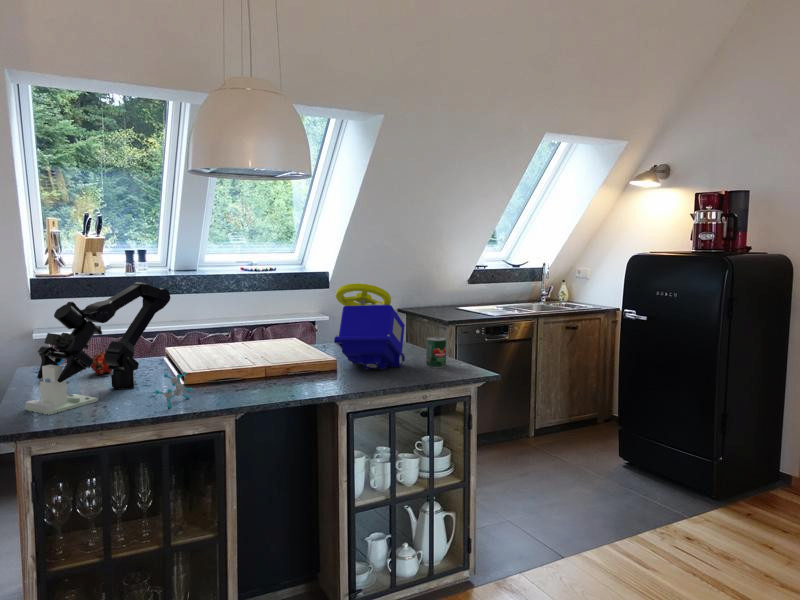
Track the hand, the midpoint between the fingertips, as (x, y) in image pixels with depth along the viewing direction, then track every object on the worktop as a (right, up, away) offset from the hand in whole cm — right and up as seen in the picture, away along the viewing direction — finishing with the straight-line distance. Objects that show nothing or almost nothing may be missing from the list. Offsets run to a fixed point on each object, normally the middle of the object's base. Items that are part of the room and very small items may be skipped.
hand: (48, 380), depth 182 cm
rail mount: (+2, -8, +3) cm, 9 cm away
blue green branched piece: (-19, -4, +37) cm, 42 cm away
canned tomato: (+120, -2, +60) cm, 134 cm away
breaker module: (+1, -7, +2) cm, 8 cm away
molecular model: (+35, -8, +8) cm, 36 cm away
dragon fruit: (-5, -4, +44) cm, 45 cm away
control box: (+92, -2, +60) cm, 110 cm away
